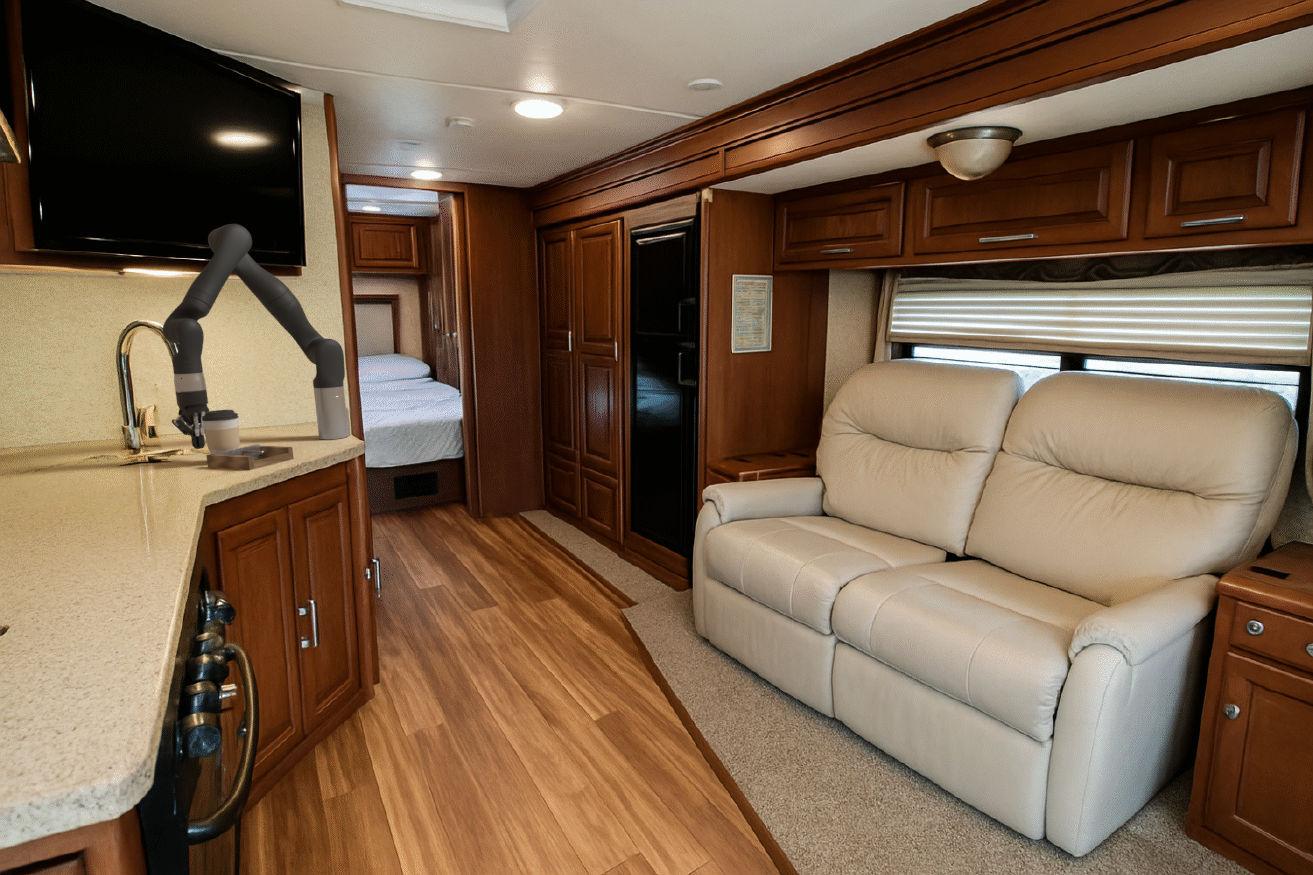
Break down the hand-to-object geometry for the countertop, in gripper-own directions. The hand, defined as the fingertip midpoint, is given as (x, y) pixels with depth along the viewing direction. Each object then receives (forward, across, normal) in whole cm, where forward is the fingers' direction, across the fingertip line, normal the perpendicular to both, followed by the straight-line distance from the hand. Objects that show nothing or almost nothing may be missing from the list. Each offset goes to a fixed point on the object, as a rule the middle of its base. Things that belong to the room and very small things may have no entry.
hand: (199, 448), depth 206 cm
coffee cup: (+4, 0, +10) cm, 10 cm away
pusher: (+4, 0, +19) cm, 20 cm away
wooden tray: (+4, 0, +19) cm, 20 cm away
